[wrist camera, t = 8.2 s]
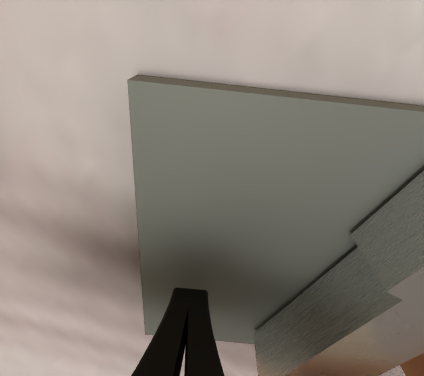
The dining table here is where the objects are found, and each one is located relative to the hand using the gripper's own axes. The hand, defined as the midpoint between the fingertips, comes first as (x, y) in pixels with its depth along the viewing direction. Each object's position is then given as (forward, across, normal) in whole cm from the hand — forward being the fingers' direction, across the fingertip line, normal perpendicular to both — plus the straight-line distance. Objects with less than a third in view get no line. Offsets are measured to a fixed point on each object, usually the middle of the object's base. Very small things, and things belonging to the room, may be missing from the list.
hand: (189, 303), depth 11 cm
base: (+2, -5, -2) cm, 6 cm away
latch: (+1, -7, -2) cm, 7 cm away
